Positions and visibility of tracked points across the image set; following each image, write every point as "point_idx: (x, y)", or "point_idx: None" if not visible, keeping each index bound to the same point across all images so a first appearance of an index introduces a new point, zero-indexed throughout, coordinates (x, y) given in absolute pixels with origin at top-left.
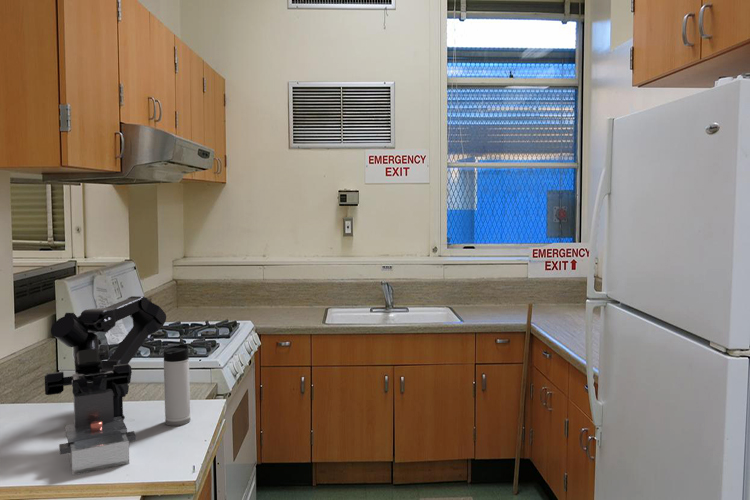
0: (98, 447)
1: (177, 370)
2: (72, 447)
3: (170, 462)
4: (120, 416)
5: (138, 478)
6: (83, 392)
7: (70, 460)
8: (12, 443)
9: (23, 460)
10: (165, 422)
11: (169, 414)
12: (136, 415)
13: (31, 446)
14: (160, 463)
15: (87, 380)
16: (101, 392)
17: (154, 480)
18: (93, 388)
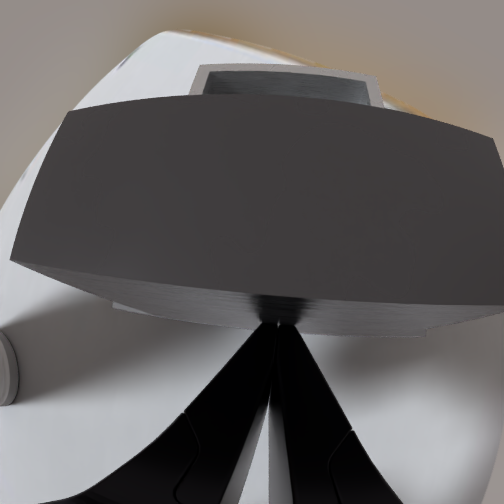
0: (295, 67)
1: None
2: (377, 100)
3: (138, 88)
4: (114, 303)
5: (225, 52)
6: (371, 475)
7: None
8: (473, 500)
9: (483, 332)
10: (16, 381)
11: None
12: None
13: (449, 458)
14: (156, 90)
15: None
16: (164, 125)
17: (205, 40)
18: (201, 500)
